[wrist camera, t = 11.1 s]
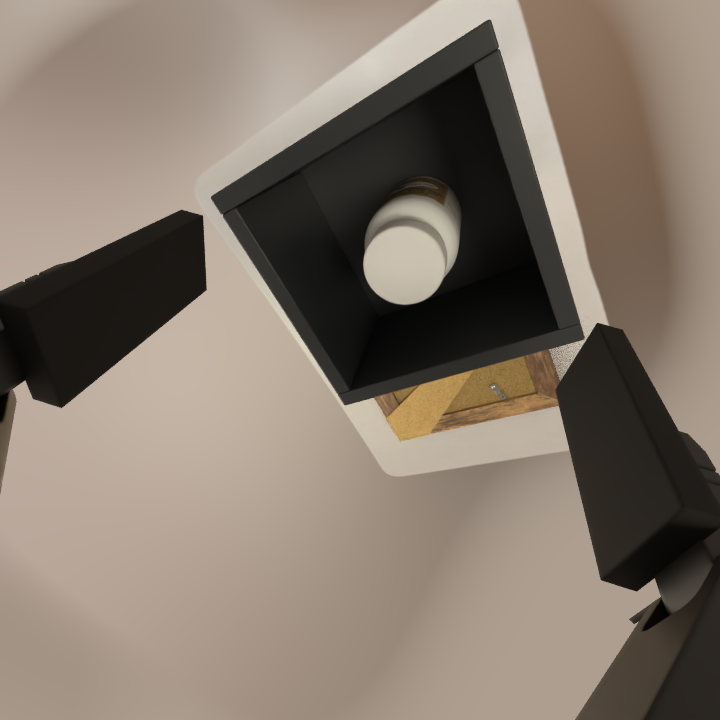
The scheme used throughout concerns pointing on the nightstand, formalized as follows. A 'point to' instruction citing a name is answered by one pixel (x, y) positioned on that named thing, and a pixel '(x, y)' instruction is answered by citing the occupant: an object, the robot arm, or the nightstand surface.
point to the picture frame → (473, 396)
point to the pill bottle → (412, 240)
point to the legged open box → (365, 196)
